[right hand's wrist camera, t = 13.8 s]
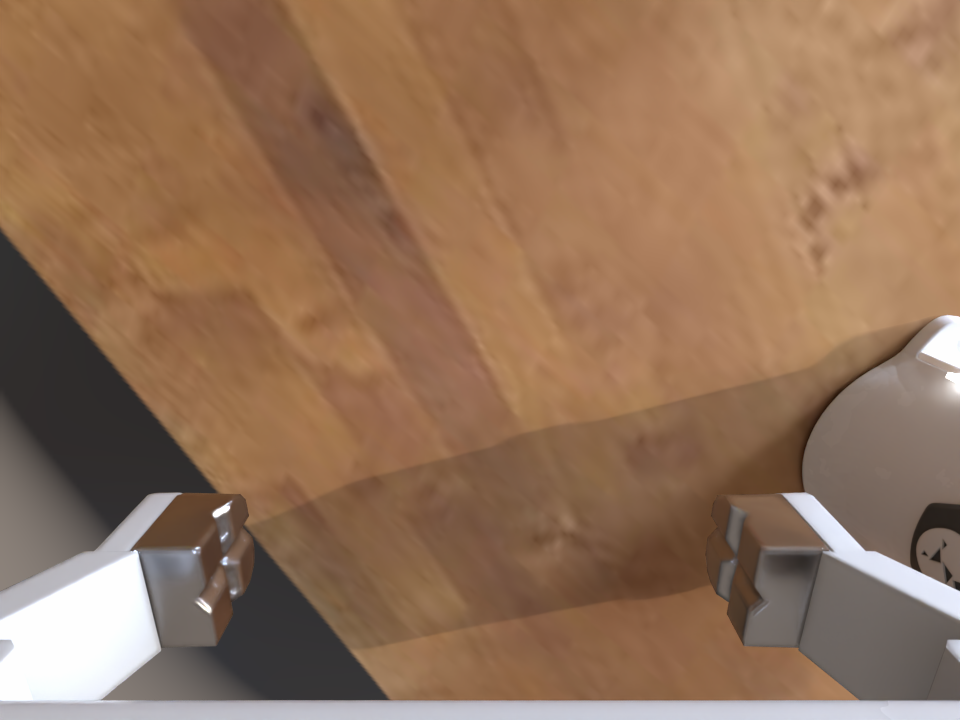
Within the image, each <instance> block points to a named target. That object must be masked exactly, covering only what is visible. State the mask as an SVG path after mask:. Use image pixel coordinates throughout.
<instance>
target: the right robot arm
mask: <svg viewBox="0 0 960 720" xmlns="http://www.w3.org/2000/svg"><path fill="white" fill-rule="evenodd" d="M802 479H803V486H804V490H805V493H777V494H747V495H717V497H716V499H715V501H714V503H713V508H712V513H711V517H712V518H713V520H714V521H715V523H716V525H717V526H718V527H717V529H716V530H715V531H714V532H713V533H712V534H711V535H710V536H709V537H708V538H707V546H706V564H707V572H708V575H709V579H710V582H711V584H712V586H713V588H714V590H715V592H716V594H717V595H719V596H720V597H722V598H723V599H725V600H726V601H728V602H729V605H728V610H727V615H728V617H729V619H730V621H731V623H732V625H733V626H734V628H735V630H736V632H737V634H738V636H739V638H740V640H741V641H742V643H743V645H744V646H759V647H794V648H799V649H798V650H799V651H800V652H801V653H802V654H804V655H805V656H806V657H807V658H809V659H810V660H811V661H812V662H814V663H815V664H816V665H817V666H818V667H820V668H821V669H822V670H823V671H825V672H826V673H827V674H828V675H829V676H831V677H832V678H833V679H834V680H836V681H837V682H838V683H839V684H841V685H842V686H843V687H844V688H845V689H847V690H848V691H849V692H850V693H852V694H853V695H854V696H855V697H856V698H858V699H859V700H779V701H414V700H372V701H371V700H366V701H365V700H357V701H356V700H354V701H353V700H348V701H347V700H338V701H337V700H336V701H335V700H319V701H317V700H316V701H315V700H311V701H310V700H295V701H294V700H287V701H285V700H284V701H283V700H282V701H279V700H274V701H273V700H272V701H271V700H269V701H268V700H267V701H266V700H265V701H261V700H259V701H258V700H257V701H256V700H255V701H254V700H250V701H102V700H101V699H102V698H104V697H105V696H106V695H107V694H109V693H110V692H111V691H112V690H113V689H115V688H116V687H117V686H118V685H120V684H121V683H122V682H123V681H125V680H126V679H127V678H128V677H129V676H131V675H132V674H133V673H134V672H136V671H137V670H138V669H139V668H141V667H142V666H143V665H144V664H145V663H147V662H148V661H149V660H150V659H152V658H153V657H154V656H155V655H156V654H158V653H159V652H160V651H161V648H165V647H200V646H216V645H217V643H218V641H219V640H220V638H221V636H222V634H223V632H224V630H225V628H226V626H227V625H228V623H229V621H230V619H231V617H232V615H233V610H232V605H231V602H232V601H234V600H235V599H237V598H238V597H240V596H241V595H243V594H244V592H245V590H246V588H247V586H248V584H249V582H250V579H251V575H252V570H253V566H254V545H253V538H252V537H251V536H250V535H249V534H248V533H247V532H246V531H245V530H244V529H243V528H242V526H243V525H244V523H245V521H246V520H247V518H248V517H249V514H248V509H247V504H246V499H245V498H244V497H243V496H242V495H241V494H205V493H183V494H182V493H154V494H150V495H148V496H147V497H146V498H145V499H144V500H143V501H142V502H141V503H140V504H139V505H138V506H137V507H136V508H135V509H134V510H133V511H132V512H131V513H130V514H129V515H128V516H127V518H126V519H125V520H124V521H123V522H122V523H121V524H120V525H119V526H118V527H117V528H116V529H115V530H114V531H113V532H112V533H111V534H110V535H109V536H108V537H107V539H106V540H105V541H104V542H103V543H102V544H101V545H100V546H99V547H98V548H97V549H96V550H95V551H85V552H82V553H80V554H78V555H76V556H74V557H72V558H70V559H67V560H65V561H63V562H61V563H59V564H57V565H55V566H53V567H51V568H48V569H46V570H44V571H42V572H40V573H38V574H36V575H34V576H31V577H30V578H27V579H25V580H23V581H21V582H19V583H17V584H15V585H12V586H10V587H8V588H6V589H4V590H2V591H0V720H960V317H957V316H951V315H946V316H940V317H938V318H936V319H934V320H932V321H931V322H929V323H928V324H927V325H926V326H925V327H923V328H922V329H921V330H920V331H919V332H918V333H917V334H916V335H915V337H914V338H913V339H912V340H911V341H910V342H909V343H908V344H907V345H906V346H905V347H904V349H903V350H902V351H901V352H900V353H898V354H897V355H895V356H894V357H892V358H891V359H889V360H888V361H886V362H884V363H882V364H881V365H879V366H877V367H875V368H874V369H872V370H870V371H868V372H867V373H865V374H864V375H862V376H861V377H859V378H858V379H856V380H855V381H854V382H852V383H851V384H850V385H849V386H848V387H846V388H845V389H844V390H843V391H842V392H841V393H840V394H839V395H838V396H837V397H836V398H835V399H834V400H833V401H832V402H831V403H830V405H829V406H828V407H827V408H826V410H825V411H824V412H823V414H822V415H821V417H820V418H819V420H818V421H817V423H816V425H815V426H814V428H813V430H812V432H811V435H810V437H809V439H808V442H807V445H806V448H805V452H804V457H803V464H802Z"/></svg>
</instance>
